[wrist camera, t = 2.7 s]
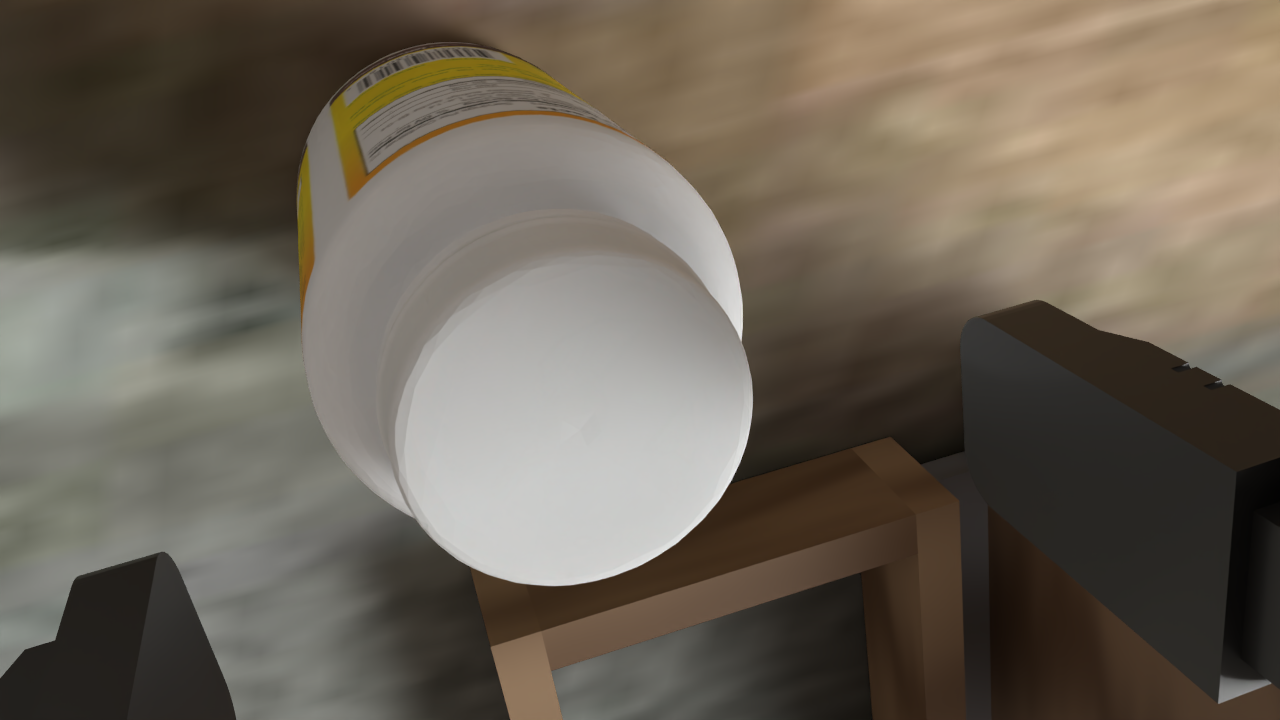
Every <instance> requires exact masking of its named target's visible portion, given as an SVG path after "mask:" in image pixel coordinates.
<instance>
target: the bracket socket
mask: <svg viewBox="0 0 1280 720" xmlns="http://www.w3.org/2000/svg"><path fill="white" fill-rule="evenodd" d="M470 570H471V574H472V577H473V581H474V585H475V589H476V593H477V597H478V600H479V604H480V608H481V612H482V616H483V620H484V623H485V627H486V631H487V635H488V639H489V643H490V646H491V650H492V654H493V658H494V661H495V665H496V669H497V672H498V676H499V680H500V683H501V687H502V691H503V694H504V698H505V702H506V706H507V709H508V713H509V717H510V720H563V719H562V714H561V710H560V706H559V702H558V698H557V694H556V690H555V686H554V682H553V677H552V673H551V671H552V670H556V669H559V668H562V667H565V666H568V665H571V664H574V663H577V662H581V661H584V660H587V659H590V658H593V657H596V656H599V655H603V654H606V653H609V652H612V651H615V650H618V649H621V648H624V647H628V646H631V645H634V644H637V643H640V642H643V641H646V640H650V639H653V638H656V637H659V636H662V635H665V634H668V633H672V632H675V631H678V630H681V629H684V628H687V627H690V626H693V625H697V624H700V623H703V622H706V621H709V620H712V619H715V618H719V617H722V616H725V615H728V614H731V613H734V612H737V611H740V610H744V609H747V608H750V607H753V606H756V605H759V604H762V603H766V602H769V601H772V600H775V599H778V598H781V597H784V596H788V595H791V594H794V593H797V592H800V591H803V590H806V589H809V588H813V587H816V586H819V585H822V584H825V583H828V582H831V581H835V580H838V579H841V578H844V577H847V576H850V575H853V574H856V573H860V572H861V579H862V591H863V604H864V616H865V629H866V642H867V654H868V667H869V679H870V692H871V704H872V717H873V720H1280V689H1278V688H1277V687H1276V686H1275V685H1273V684H1272V683H1271V684H1269V685H1266V686H1264V687H1261V688H1259V689H1256V690H1253V691H1251V692H1248V693H1246V694H1243V695H1240V696H1238V697H1235V698H1233V699H1230V700H1227V701H1225V702H1222V703H1220V704H1218V703H1216V702H1215V701H1214V700H1213V699H1212V698H1211V697H1209V696H1208V695H1207V694H1206V693H1205V692H1204V691H1202V690H1201V689H1200V688H1199V687H1198V686H1197V685H1196V684H1194V683H1193V682H1192V681H1191V680H1190V679H1189V678H1187V677H1186V676H1185V675H1184V674H1183V673H1182V672H1180V671H1179V670H1178V669H1177V668H1176V667H1175V666H1174V665H1172V664H1171V663H1170V662H1169V661H1168V660H1167V659H1165V658H1164V657H1163V656H1162V655H1161V654H1160V653H1158V652H1157V651H1156V650H1155V649H1154V648H1153V647H1152V646H1150V645H1149V644H1148V643H1147V642H1146V641H1145V640H1143V639H1142V638H1141V637H1140V636H1139V635H1138V634H1136V633H1135V632H1134V631H1133V630H1132V629H1131V628H1130V627H1128V626H1127V625H1126V624H1125V623H1124V622H1123V621H1121V620H1120V619H1119V618H1118V617H1117V616H1116V615H1114V614H1113V613H1112V612H1111V611H1110V610H1109V609H1108V608H1106V607H1105V606H1104V605H1103V604H1102V603H1101V602H1099V601H1098V600H1097V599H1096V598H1095V597H1094V596H1093V595H1091V594H1090V593H1089V592H1088V591H1087V590H1086V589H1084V588H1083V587H1082V586H1081V585H1080V584H1079V583H1077V582H1076V581H1075V580H1074V579H1073V578H1072V577H1071V576H1069V575H1068V574H1067V573H1066V572H1065V571H1064V570H1062V569H1061V568H1060V567H1059V566H1058V565H1057V564H1055V563H1054V562H1053V561H1052V560H1051V559H1050V558H1049V557H1047V556H1046V555H1045V554H1044V553H1043V552H1042V551H1040V550H1039V549H1038V548H1037V547H1036V546H1035V545H1033V544H1032V543H1031V542H1030V541H1029V540H1028V539H1027V538H1025V537H1024V536H1023V535H1022V534H1021V533H1020V532H1018V531H1017V530H1016V529H1015V528H1014V527H1013V526H1011V525H1010V524H1009V523H1008V522H1007V521H1006V520H1005V519H1003V518H1002V517H1001V516H1000V515H999V514H998V513H996V512H995V511H994V510H993V509H992V508H991V507H990V506H989V505H988V504H987V503H986V502H985V500H984V499H983V498H982V496H981V495H980V493H979V492H978V490H977V488H976V486H975V484H974V482H973V479H972V477H971V474H970V472H969V468H968V465H967V460H966V455H965V451H964V452H961V453H957V454H954V455H951V456H947V457H944V458H941V459H937V460H934V461H931V462H928V463H924V464H921V465H920V464H919V463H918V462H917V461H916V460H915V459H914V458H913V457H912V456H911V455H910V454H909V453H907V452H906V451H905V450H904V449H903V448H902V447H901V446H900V445H899V444H898V443H897V442H896V441H895V440H894V439H892V438H891V437H888V438H884V439H881V440H877V441H874V442H871V443H867V444H864V445H860V446H857V447H854V448H850V449H847V450H844V451H840V452H837V453H833V454H830V455H827V456H823V457H820V458H816V459H813V460H810V461H806V462H803V463H799V464H796V465H793V466H789V467H786V468H783V469H779V470H776V471H772V472H769V473H766V474H762V475H759V476H755V477H752V478H749V479H745V480H742V481H739V482H735V483H732V484H729V485H728V487H727V488H726V490H725V492H724V493H723V495H722V497H721V498H720V500H719V501H718V502H717V504H716V505H715V506H714V507H713V508H712V509H711V511H710V512H709V513H708V514H707V515H706V517H705V518H704V519H703V520H702V521H701V522H700V523H699V524H698V525H697V526H695V527H694V528H693V529H692V530H691V531H690V532H689V533H688V534H687V535H686V536H685V537H683V538H682V539H681V540H680V541H679V542H678V543H676V544H675V545H673V546H672V547H670V548H669V549H667V550H666V551H664V552H663V553H661V554H660V555H658V556H657V557H655V558H653V559H651V560H649V561H648V562H646V563H644V564H642V565H640V566H638V567H636V568H633V569H631V570H628V571H626V572H623V573H620V574H618V575H615V576H612V577H608V578H605V579H601V580H597V581H593V582H587V583H581V584H575V585H564V586H543V585H531V584H522V583H515V582H511V581H508V580H504V579H501V578H497V577H494V576H491V575H487V574H485V573H483V572H481V571H478V570H476V569H474V568H472V567H470Z"/></svg>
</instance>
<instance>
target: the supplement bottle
mask: <svg viewBox="0 0 1280 720" xmlns="http://www.w3.org/2000/svg"><path fill="white" fill-rule="evenodd" d="M297 218H298V251H299V274H300V302H301V333H302V352H303V362H304V366H305V371H306V376H307V381H308V386H309V391H310V394H311V398H312V402H313V405H314V408H315V411H316V413H317V416H318V418H319V421H320V423H321V425H322V427H323V429H324V431H325V433H326V435H327V436H328V438H329V440H330V442H331V443H332V445H333V446H334V448H335V449H336V451H337V453H338V454H339V456H340V457H341V459H342V460H343V461H344V463H345V464H346V465H347V466H348V467H349V468H350V470H351V471H352V472H353V473H354V474H355V475H356V476H357V477H358V478H359V479H360V480H361V481H362V482H363V483H364V484H365V485H366V486H367V487H368V488H370V489H371V490H372V491H373V492H374V493H375V494H377V495H378V496H379V497H381V498H382V499H384V500H385V501H386V502H388V503H389V504H391V505H392V506H394V507H395V508H397V509H398V510H400V511H402V512H404V513H405V514H407V515H409V516H411V517H413V518H415V519H416V520H417V522H418V523H419V525H420V526H421V527H422V528H423V529H424V531H425V532H426V533H427V534H428V535H429V536H430V537H431V538H432V539H433V540H434V541H435V542H436V543H437V544H438V545H439V546H441V547H442V548H443V549H444V550H446V551H447V552H448V553H449V554H451V555H452V556H453V557H455V558H456V559H457V560H459V561H461V562H462V563H464V564H466V565H468V566H470V567H472V568H474V569H476V570H478V571H481V572H483V573H485V574H487V575H491V576H494V577H497V578H501V579H504V580H508V581H511V582H515V583H522V584H531V585H543V586H564V585H575V584H581V583H587V582H593V581H597V580H601V579H605V578H608V577H612V576H615V575H618V574H620V573H623V572H626V571H628V570H631V569H633V568H636V567H638V566H640V565H642V564H644V563H646V562H648V561H649V560H651V559H653V558H655V557H657V556H658V555H660V554H661V553H663V552H664V551H666V550H667V549H669V548H670V547H672V546H673V545H675V544H676V543H678V542H679V541H680V540H681V539H682V538H683V537H685V536H686V535H687V534H688V533H689V532H690V531H691V530H692V529H693V528H694V527H695V526H697V525H698V524H699V523H700V522H701V521H702V520H703V519H704V518H705V517H706V515H707V514H708V513H709V512H710V511H711V509H712V508H713V507H714V506H715V505H716V504H717V502H718V501H719V500H720V498H721V497H722V495H723V493H724V492H725V490H726V488H727V487H728V485H729V484H730V482H731V480H732V478H733V476H734V474H735V472H736V470H737V468H738V466H739V464H740V461H741V459H742V456H743V453H744V450H745V448H746V444H747V440H748V436H749V431H750V425H751V419H752V409H753V390H752V378H751V374H750V369H749V365H748V360H747V356H746V353H745V350H744V347H743V345H742V330H743V303H742V295H741V289H740V283H739V278H738V272H737V269H736V265H735V261H734V258H733V255H732V252H731V249H730V246H729V244H728V242H727V239H726V237H725V235H724V233H723V231H722V229H721V227H720V225H719V223H718V221H717V220H716V218H715V216H714V214H713V212H712V211H711V209H710V208H709V207H708V205H707V204H706V203H705V201H704V200H703V199H702V198H701V196H700V195H699V194H698V192H697V191H696V190H695V189H694V188H693V186H692V185H691V184H690V183H689V182H688V181H687V180H686V179H685V178H684V177H683V176H682V175H681V174H680V173H679V172H678V171H677V170H676V169H675V168H674V167H673V166H672V165H671V164H670V163H668V162H667V161H666V160H665V159H663V158H662V157H661V156H660V155H658V154H657V153H656V152H654V151H653V150H651V149H650V148H649V147H647V146H646V145H644V144H643V143H641V142H640V141H639V140H637V139H636V138H634V137H633V136H631V135H630V134H629V133H627V132H626V131H625V130H623V129H622V128H621V127H619V126H618V125H617V124H615V123H614V122H613V121H611V120H610V119H609V118H607V117H606V116H605V115H603V114H602V113H601V112H600V111H598V110H597V109H595V108H594V107H592V106H591V105H590V104H588V103H587V102H585V101H584V100H582V99H581V98H579V97H578V96H576V95H575V94H574V93H572V92H571V91H569V90H568V89H567V88H565V87H564V86H563V85H561V84H560V83H558V82H557V81H556V80H555V79H553V78H552V77H551V76H549V75H548V74H546V73H545V72H544V71H542V70H541V69H540V68H538V67H536V66H535V65H533V64H531V63H529V62H527V61H525V60H523V59H521V58H519V57H517V56H514V55H512V54H509V53H507V52H504V51H501V50H498V49H495V48H492V47H487V46H483V45H478V44H471V43H460V42H440V43H429V44H424V45H419V46H414V47H410V48H407V49H403V50H400V51H398V52H395V53H392V54H390V55H387V56H385V57H383V58H381V59H379V60H377V61H376V62H374V63H372V64H371V65H369V66H367V67H366V68H364V69H363V70H361V71H360V72H358V73H357V74H356V75H355V76H353V77H352V78H351V79H350V80H348V81H347V82H346V83H345V84H344V85H343V86H342V87H341V88H340V89H339V90H338V91H337V92H336V93H335V94H334V96H333V97H332V98H331V99H330V100H329V102H328V103H327V104H326V105H325V107H324V108H323V110H322V111H321V113H320V114H319V116H318V117H317V119H316V121H315V123H314V125H313V127H312V129H311V131H310V134H309V136H308V138H307V141H306V144H305V147H304V150H303V153H302V157H301V161H300V165H299V171H298V179H297Z"/></svg>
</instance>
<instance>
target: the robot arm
mask: <svg viewBox="0 0 1280 720" xmlns="http://www.w3.org/2000/svg"><path fill="white" fill-rule="evenodd" d="M960 350H961V373H962V396H963V419H964V442H965V455H966V460H967V465H968V468H969V472H970V474H971V477H972V479H973V482H974V484H975V486H976V488H977V490H978V492H979V493H980V495H981V496H982V498H983V499H984V500H985V502H986V503H987V504H988V505H989V506H990V507H991V508H992V509H993V510H994V511H995V512H996V513H998V514H999V515H1000V516H1001V517H1002V518H1003V519H1005V520H1006V521H1007V522H1008V523H1009V524H1010V525H1011V526H1013V527H1014V528H1015V529H1016V530H1017V531H1018V532H1020V533H1021V534H1022V535H1023V536H1024V537H1025V538H1027V539H1028V540H1029V541H1030V542H1031V543H1032V544H1033V545H1035V546H1036V547H1037V548H1038V549H1039V550H1040V551H1042V552H1043V553H1044V554H1045V555H1046V556H1047V557H1049V558H1050V559H1051V560H1052V561H1053V562H1054V563H1055V564H1057V565H1058V566H1059V567H1060V568H1061V569H1062V570H1064V571H1065V572H1066V573H1067V574H1068V575H1069V576H1071V577H1072V578H1073V579H1074V580H1075V581H1076V582H1077V583H1079V584H1080V585H1081V586H1082V587H1083V588H1084V589H1086V590H1087V591H1088V592H1089V593H1090V594H1091V595H1093V596H1094V597H1095V598H1096V599H1097V600H1098V601H1099V602H1101V603H1102V604H1103V605H1104V606H1105V607H1106V608H1108V609H1109V610H1110V611H1111V612H1112V613H1113V614H1114V615H1116V616H1117V617H1118V618H1119V619H1120V620H1121V621H1123V622H1124V623H1125V624H1126V625H1127V626H1128V627H1130V628H1131V629H1132V630H1133V631H1134V632H1135V633H1136V634H1138V635H1139V636H1140V637H1141V638H1142V639H1143V640H1145V641H1146V642H1147V643H1148V644H1149V645H1150V646H1152V647H1153V648H1154V649H1155V650H1156V651H1157V652H1158V653H1160V654H1161V655H1162V656H1163V657H1164V658H1165V659H1167V660H1168V661H1169V662H1170V663H1171V664H1172V665H1174V666H1175V667H1176V668H1177V669H1178V670H1179V671H1180V672H1182V673H1183V674H1184V675H1185V676H1186V677H1187V678H1189V679H1190V680H1191V681H1192V682H1193V683H1194V684H1196V685H1197V686H1198V687H1199V688H1200V689H1201V690H1202V691H1204V692H1205V693H1206V694H1207V695H1208V696H1209V697H1211V698H1212V699H1213V700H1214V701H1215V702H1216V703H1218V704H1220V703H1222V702H1225V701H1227V700H1230V699H1233V698H1235V697H1238V696H1240V695H1243V694H1246V693H1248V692H1251V691H1253V690H1256V689H1259V688H1261V687H1264V686H1266V685H1269V684H1271V683H1272V684H1273V685H1275V686H1276V687H1277V688H1278V689H1280V410H1279V409H1277V408H1275V407H1273V406H1271V405H1269V404H1267V403H1265V402H1263V401H1261V400H1260V399H1258V398H1256V397H1254V396H1252V395H1250V394H1248V393H1246V392H1244V391H1242V390H1240V389H1238V388H1236V387H1234V386H1232V385H1227V386H1224V385H1223V384H1222V380H1221V379H1219V378H1217V377H1215V376H1213V375H1211V374H1209V373H1207V372H1205V371H1203V370H1201V369H1199V368H1197V367H1195V368H1192V369H1191V368H1190V367H1189V363H1188V362H1186V361H1184V360H1182V359H1180V358H1178V357H1176V356H1174V355H1172V354H1170V353H1168V352H1166V351H1165V350H1163V349H1161V348H1159V347H1157V346H1155V345H1153V344H1151V343H1149V342H1145V341H1141V340H1137V339H1133V338H1129V337H1125V336H1121V335H1117V334H1112V333H1108V332H1104V331H1100V330H1097V329H1095V328H1094V327H1092V326H1090V325H1088V324H1086V323H1084V322H1082V321H1080V320H1079V319H1077V318H1075V317H1073V316H1071V315H1069V314H1067V313H1065V312H1063V311H1062V310H1060V309H1058V308H1056V307H1054V306H1052V305H1050V304H1048V303H1046V302H1044V301H1041V300H1034V301H1030V302H1026V303H1023V304H1019V305H1016V306H1013V307H1009V308H1006V309H1002V310H999V311H995V312H992V313H988V314H985V315H982V316H978V317H975V318H972V319H970V320H968V321H967V323H966V324H965V326H964V327H963V330H962V334H961V341H960ZM0 720H236V716H235V711H234V707H233V703H232V700H231V696H230V693H229V690H228V687H227V684H226V682H225V679H224V677H223V674H222V672H221V670H220V667H219V665H218V662H217V660H216V658H215V655H214V653H213V650H212V648H211V646H210V643H209V641H208V639H207V636H206V634H205V631H204V629H203V627H202V624H201V622H200V619H199V617H198V615H197V612H196V610H195V608H194V605H193V603H192V600H191V598H190V596H189V593H188V591H187V588H186V586H185V584H184V581H183V579H182V577H181V574H180V572H179V570H178V568H177V566H176V564H175V563H174V561H173V560H172V558H171V557H170V556H169V555H168V554H167V553H165V552H160V553H156V554H153V555H149V556H146V557H142V558H139V559H135V560H132V561H129V562H125V563H122V564H118V565H115V566H111V567H108V568H105V569H101V570H98V571H94V572H91V573H87V574H84V575H80V576H78V577H76V579H75V580H74V582H73V584H72V587H71V590H70V593H69V597H68V600H67V603H66V607H65V610H64V613H63V616H62V620H61V623H60V626H59V630H58V633H57V636H56V640H55V641H52V642H49V643H45V644H42V645H39V646H35V647H32V648H29V649H25V650H24V651H23V653H22V654H21V655H20V656H19V657H18V658H17V660H16V661H15V662H14V663H13V664H12V665H11V667H10V668H9V669H8V670H7V671H6V672H5V674H4V675H3V676H2V677H1V678H0Z"/></svg>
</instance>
